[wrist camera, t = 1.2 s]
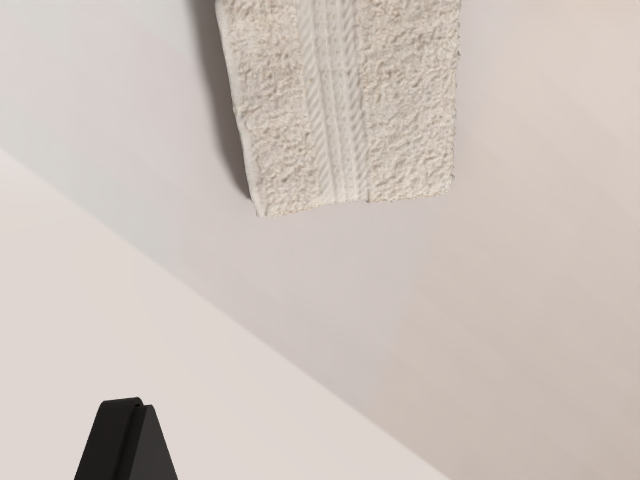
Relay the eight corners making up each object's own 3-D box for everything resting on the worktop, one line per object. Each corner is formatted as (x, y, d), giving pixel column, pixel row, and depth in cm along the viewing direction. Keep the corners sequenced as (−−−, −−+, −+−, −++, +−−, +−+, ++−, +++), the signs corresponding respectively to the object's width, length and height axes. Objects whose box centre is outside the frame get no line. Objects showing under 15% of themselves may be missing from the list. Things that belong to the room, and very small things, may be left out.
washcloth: (456, -177, 26) (475, -185, 24) (451, 183, 35) (464, 207, 33) (194, -145, 26) (183, -150, 24) (256, 206, 36) (254, 231, 33)
